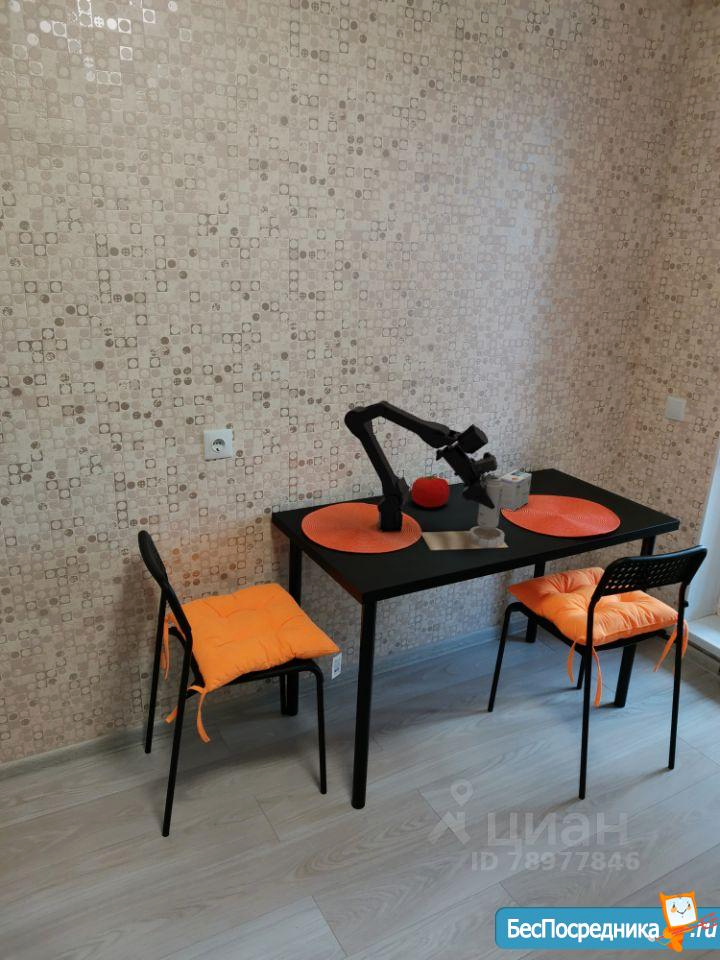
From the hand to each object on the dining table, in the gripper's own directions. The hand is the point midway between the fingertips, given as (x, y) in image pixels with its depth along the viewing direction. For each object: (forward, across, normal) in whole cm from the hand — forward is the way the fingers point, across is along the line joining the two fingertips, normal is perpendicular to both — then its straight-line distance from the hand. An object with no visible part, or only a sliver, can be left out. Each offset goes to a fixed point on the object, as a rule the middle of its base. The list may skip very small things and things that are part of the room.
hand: (494, 504), depth 211 cm
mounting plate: (+4, -2, +14) cm, 15 cm away
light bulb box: (+12, +34, +6) cm, 37 cm away
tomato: (-6, +24, +25) cm, 35 cm away
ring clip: (+7, 0, +9) cm, 12 cm away
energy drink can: (+4, 0, +6) cm, 7 cm away
